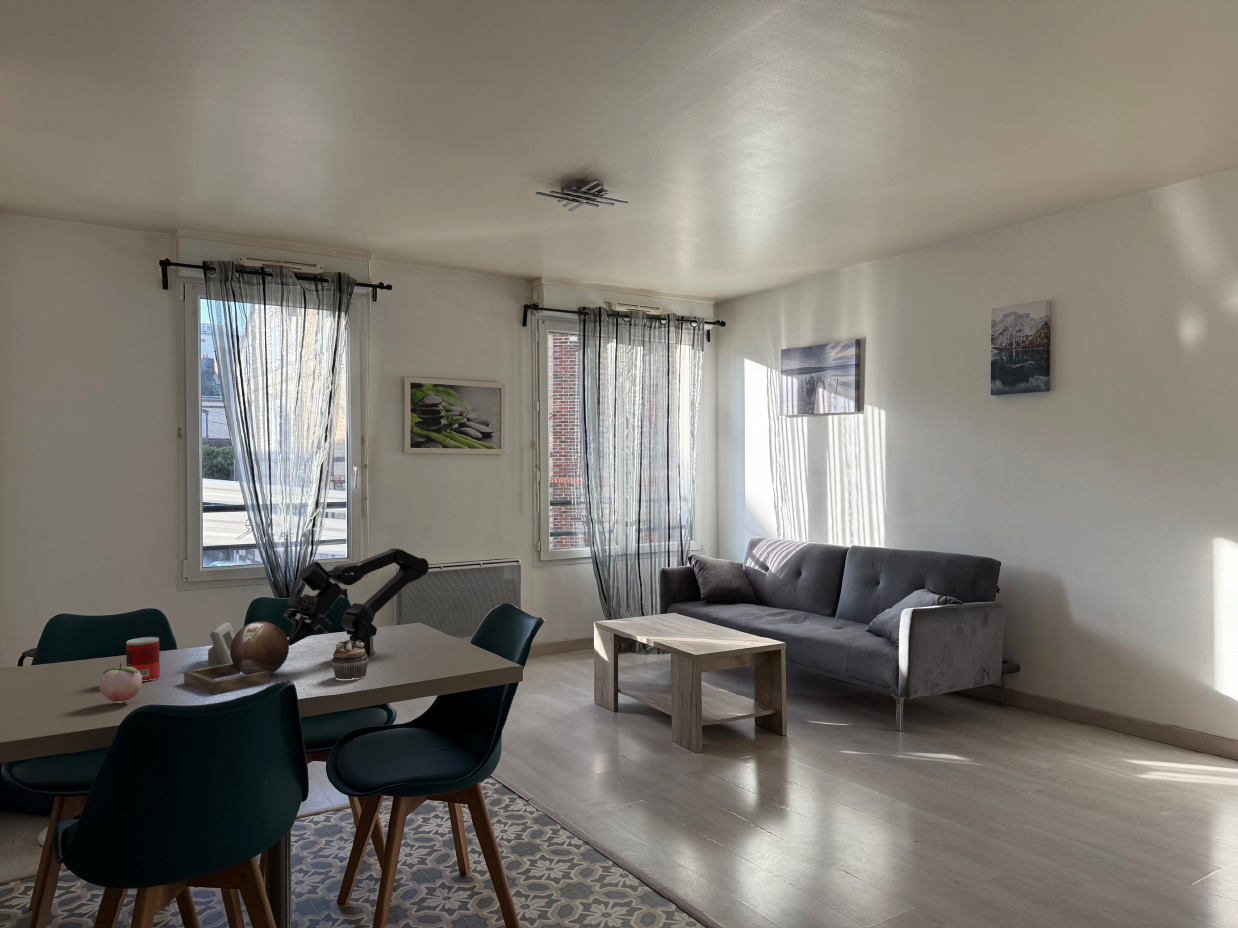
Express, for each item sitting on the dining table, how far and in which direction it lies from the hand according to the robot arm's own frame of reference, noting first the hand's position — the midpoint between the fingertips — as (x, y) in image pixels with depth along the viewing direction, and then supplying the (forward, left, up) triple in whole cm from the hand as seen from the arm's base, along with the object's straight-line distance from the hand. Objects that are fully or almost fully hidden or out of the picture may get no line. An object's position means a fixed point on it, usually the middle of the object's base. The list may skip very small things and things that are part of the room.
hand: (288, 644), depth 244 cm
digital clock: (+25, -13, -8) cm, 29 cm away
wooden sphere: (+5, +6, -7) cm, 11 cm away
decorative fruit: (+28, +32, -7) cm, 43 cm away
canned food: (+37, +8, -7) cm, 39 cm away
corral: (+11, +13, -7) cm, 19 cm away
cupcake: (-21, +9, -7) cm, 24 cm away
